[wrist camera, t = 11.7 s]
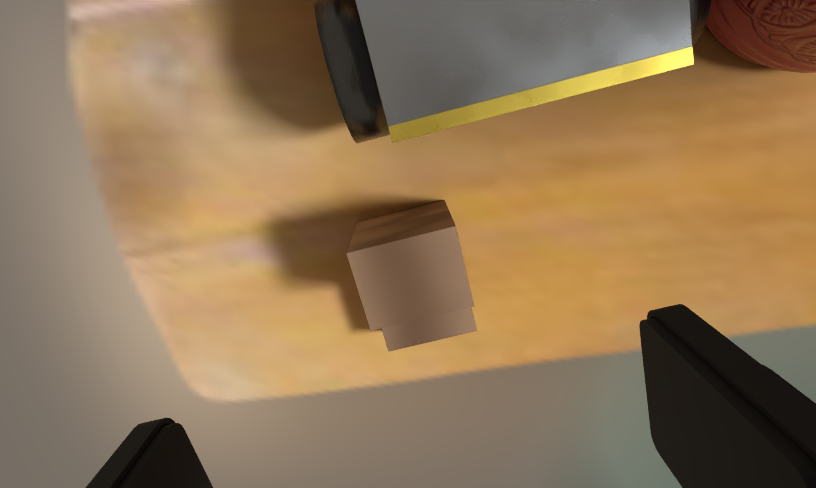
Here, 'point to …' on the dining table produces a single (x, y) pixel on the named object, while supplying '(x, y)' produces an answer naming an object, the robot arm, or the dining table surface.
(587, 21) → the trolley
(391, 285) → the block
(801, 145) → the dining table surface
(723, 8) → the canister
